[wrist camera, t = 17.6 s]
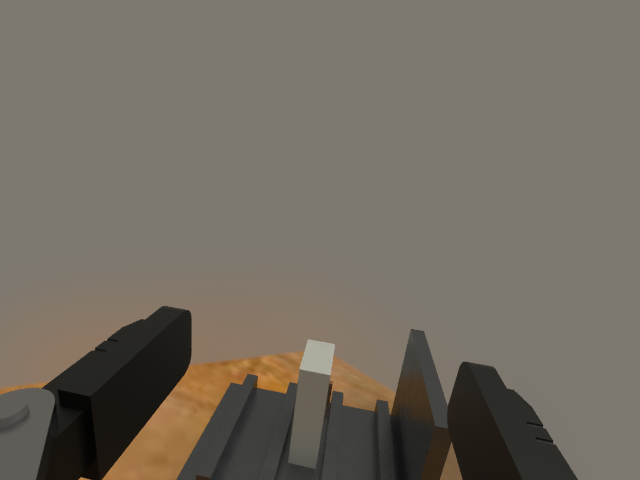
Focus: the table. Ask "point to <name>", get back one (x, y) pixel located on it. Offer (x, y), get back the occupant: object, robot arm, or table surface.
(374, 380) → the table surface
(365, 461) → the rack
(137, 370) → the robot arm
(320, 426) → the light grey block
